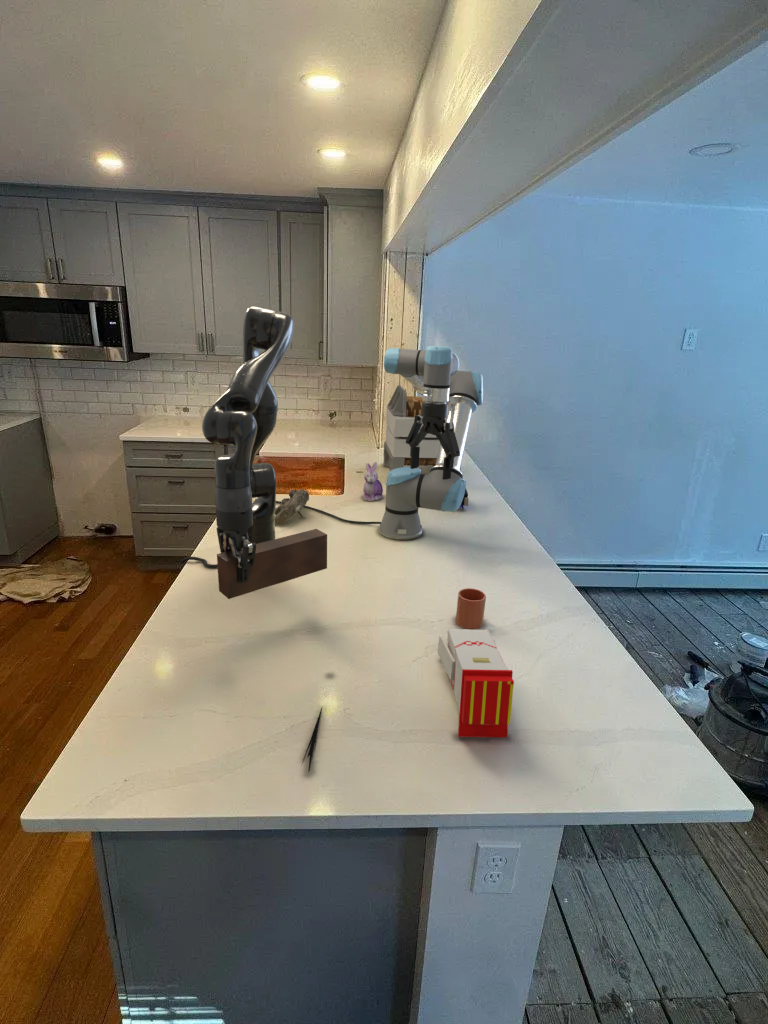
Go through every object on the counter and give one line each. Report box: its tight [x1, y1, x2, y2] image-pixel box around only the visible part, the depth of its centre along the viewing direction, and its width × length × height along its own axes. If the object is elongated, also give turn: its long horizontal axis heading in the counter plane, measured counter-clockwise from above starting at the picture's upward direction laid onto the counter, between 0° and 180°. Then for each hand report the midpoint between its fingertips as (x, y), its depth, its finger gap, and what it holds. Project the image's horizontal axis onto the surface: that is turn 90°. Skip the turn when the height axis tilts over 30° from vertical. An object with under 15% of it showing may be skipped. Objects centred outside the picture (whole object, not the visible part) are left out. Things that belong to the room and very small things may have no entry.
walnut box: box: [216, 528, 328, 600], centre depth 131 cm, size 26×5×9 cm, turn 131°
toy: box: [437, 628, 515, 738], centre depth 117 cm, size 12×13×30 cm
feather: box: [301, 673, 332, 771], centre depth 108 cm, size 2×28×2 cm
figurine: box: [362, 461, 384, 502], centre depth 233 cm, size 9×10×15 cm
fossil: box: [275, 488, 310, 526], centre depth 210 cm, size 22×10×15 cm
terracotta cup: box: [455, 587, 487, 630], centre depth 144 cm, size 7×7×8 cm
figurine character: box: [459, 488, 470, 511], centre depth 230 cm, size 7×8×15 cm
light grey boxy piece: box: [383, 384, 462, 472], centre depth 268 cm, size 34×33×41 cm
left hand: (237, 577), depth 125 cm, fingers closed on walnut box, 4 cm apart
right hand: (430, 473), depth 170 cm, fingers open, 13 cm apart
